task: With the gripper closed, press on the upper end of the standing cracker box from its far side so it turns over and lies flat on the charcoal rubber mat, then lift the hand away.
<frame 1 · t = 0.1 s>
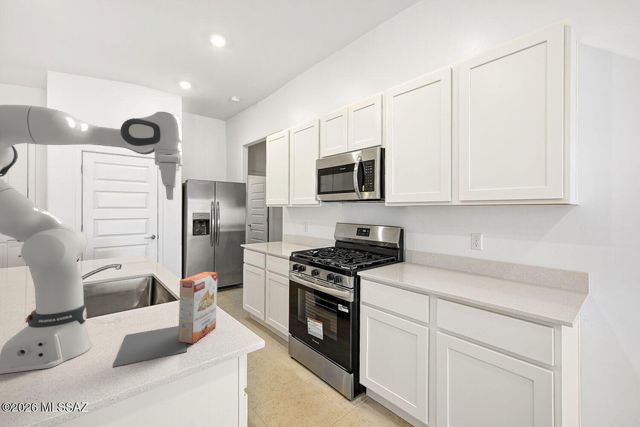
hand: (170, 199, 101), 48 cm above the counter, tool pointing down, fingers open, 8 cm apart
cracker box: (198, 335, 101), on the counter, touching mat
mat: (154, 343, 95), on the counter
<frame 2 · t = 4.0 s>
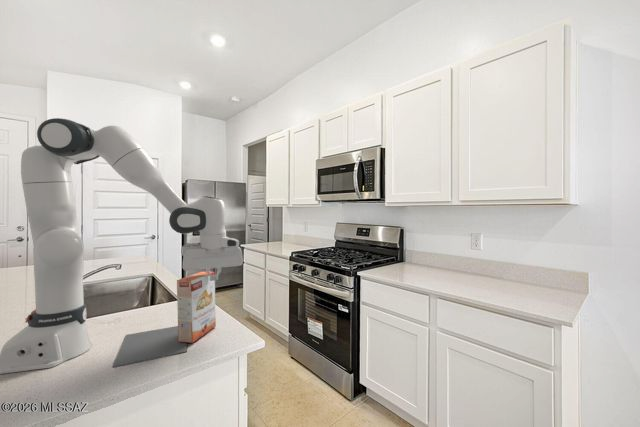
hand: (213, 280, 103), 19 cm above the counter, tool pointing down, fingers closed
cracker box: (198, 334, 101), on the counter, touching gripper, mat
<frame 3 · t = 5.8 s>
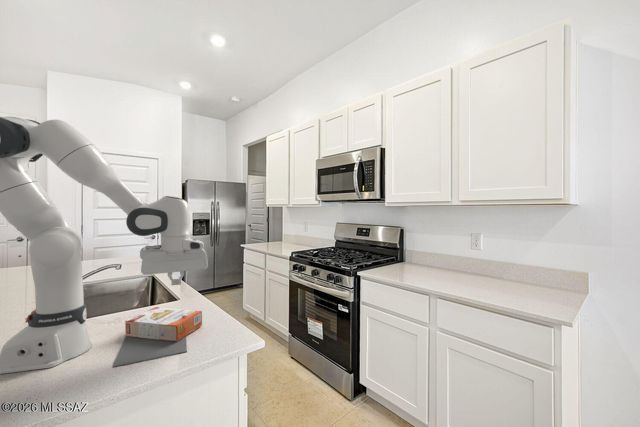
hand: (176, 284, 98), 19 cm above the counter, tool pointing down, fingers closed
cracker box: (191, 324, 102), point 3 cm above the counter, touching mat
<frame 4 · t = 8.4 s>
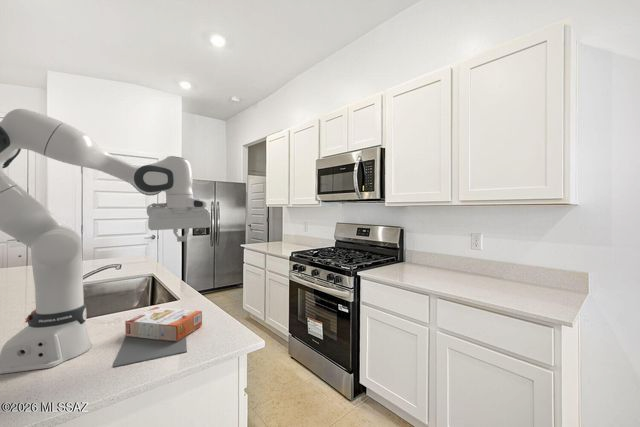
hand: (181, 241, 103), 33 cm above the counter, tool pointing down, fingers closed
nothing on the counter moved.
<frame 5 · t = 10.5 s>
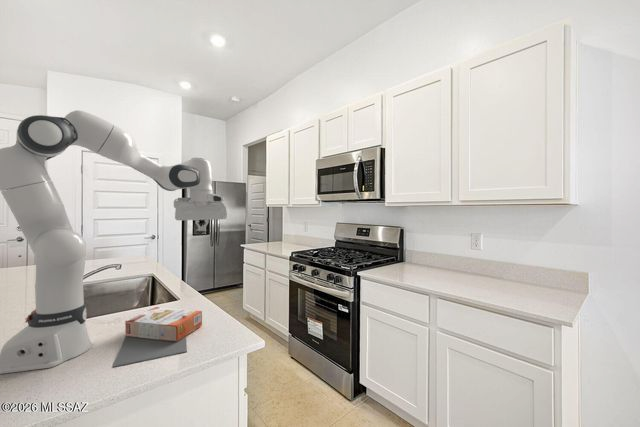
hand: (202, 230, 120), 35 cm above the counter, tool pointing down, fingers closed
nothing on the counter moved.
at the end: cracker box tilted 91°; cracker box touching mat; the gripper is holding nothing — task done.
